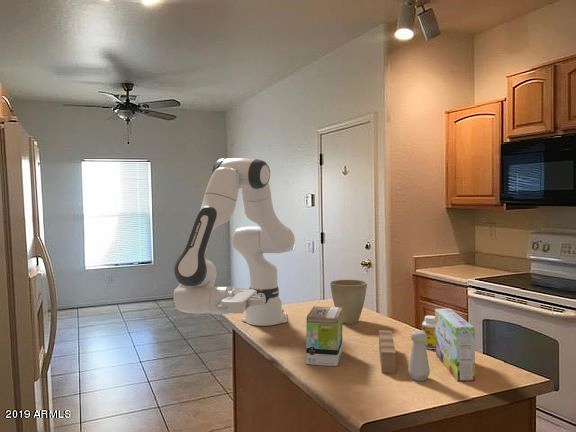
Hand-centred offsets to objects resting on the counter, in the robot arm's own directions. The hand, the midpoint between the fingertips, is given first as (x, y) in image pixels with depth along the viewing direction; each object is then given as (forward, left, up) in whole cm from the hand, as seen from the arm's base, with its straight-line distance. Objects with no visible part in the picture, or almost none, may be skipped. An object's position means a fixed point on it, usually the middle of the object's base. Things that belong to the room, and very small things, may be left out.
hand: (264, 301), depth 150 cm
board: (0, +38, -17) cm, 42 cm away
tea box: (0, +19, -18) cm, 26 cm away
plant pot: (-44, +25, -18) cm, 54 cm away
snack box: (+4, +57, -18) cm, 60 cm away
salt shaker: (+14, +46, -18) cm, 51 cm away
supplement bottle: (-14, +53, -18) cm, 58 cm away
